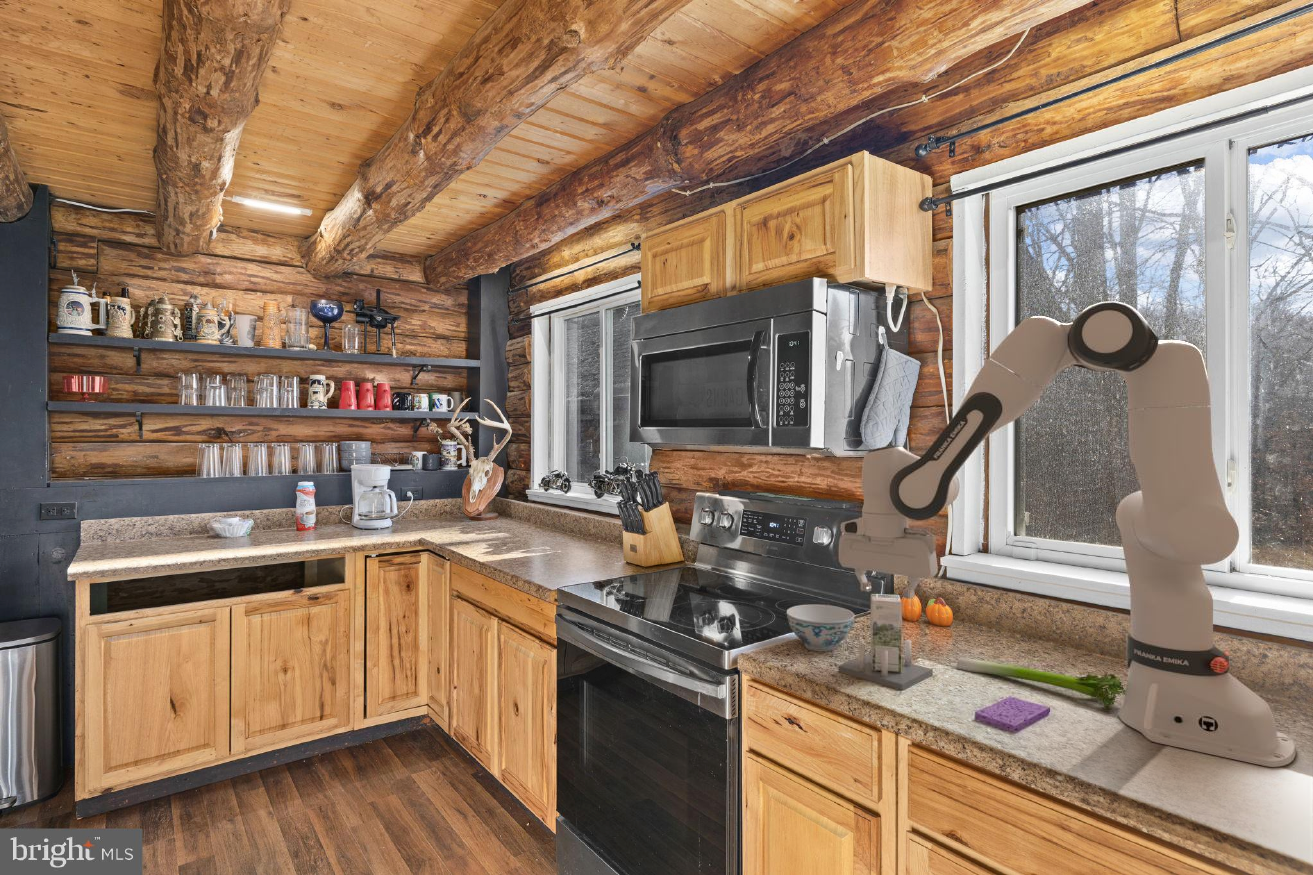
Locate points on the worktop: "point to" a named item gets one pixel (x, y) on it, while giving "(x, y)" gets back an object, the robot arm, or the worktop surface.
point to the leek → (1051, 679)
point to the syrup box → (886, 631)
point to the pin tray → (886, 669)
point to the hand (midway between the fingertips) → (886, 594)
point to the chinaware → (820, 625)
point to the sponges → (1012, 714)
